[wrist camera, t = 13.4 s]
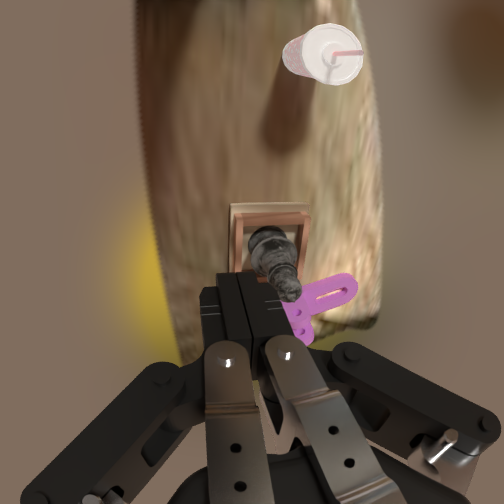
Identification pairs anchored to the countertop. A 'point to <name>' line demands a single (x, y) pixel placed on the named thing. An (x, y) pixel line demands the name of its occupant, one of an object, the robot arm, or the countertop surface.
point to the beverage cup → (325, 54)
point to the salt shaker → (276, 261)
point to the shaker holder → (267, 214)
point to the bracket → (318, 302)
